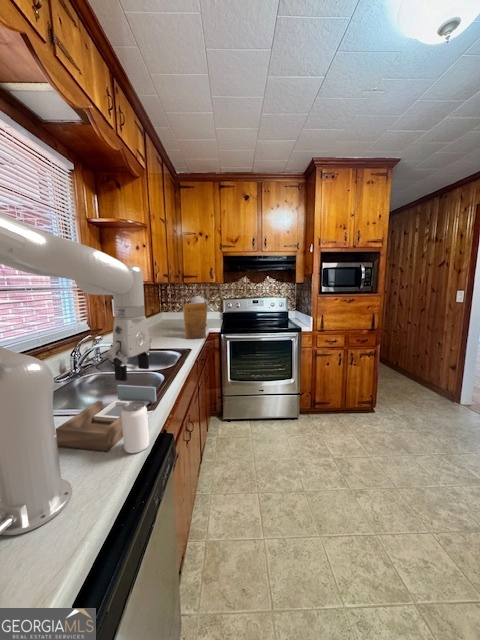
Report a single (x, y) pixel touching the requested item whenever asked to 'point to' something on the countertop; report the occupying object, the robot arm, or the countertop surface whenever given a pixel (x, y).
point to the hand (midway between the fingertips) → (133, 374)
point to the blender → (198, 301)
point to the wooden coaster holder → (89, 431)
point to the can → (135, 427)
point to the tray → (125, 401)
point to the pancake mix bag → (195, 320)
